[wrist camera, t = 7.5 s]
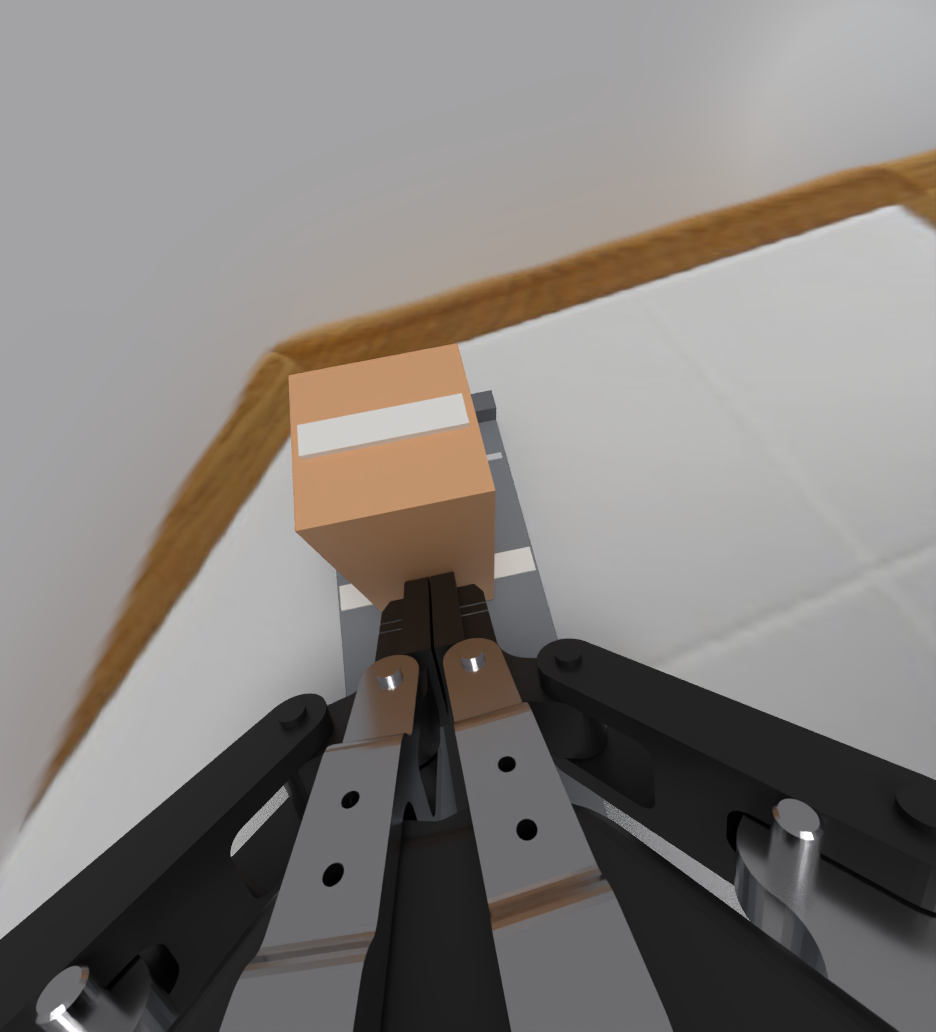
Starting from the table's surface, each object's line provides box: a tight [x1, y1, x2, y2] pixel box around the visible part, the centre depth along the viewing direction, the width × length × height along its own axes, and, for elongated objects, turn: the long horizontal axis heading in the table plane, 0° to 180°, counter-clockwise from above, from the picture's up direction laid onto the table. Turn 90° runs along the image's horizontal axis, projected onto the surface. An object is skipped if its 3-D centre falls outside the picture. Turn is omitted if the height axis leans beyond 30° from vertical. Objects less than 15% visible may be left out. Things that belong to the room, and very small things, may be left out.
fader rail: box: [336, 390, 607, 820], centre depth 16 cm, size 26×8×2 cm, turn 11°
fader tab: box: [289, 343, 495, 612], centre depth 14 cm, size 4×4×9 cm
